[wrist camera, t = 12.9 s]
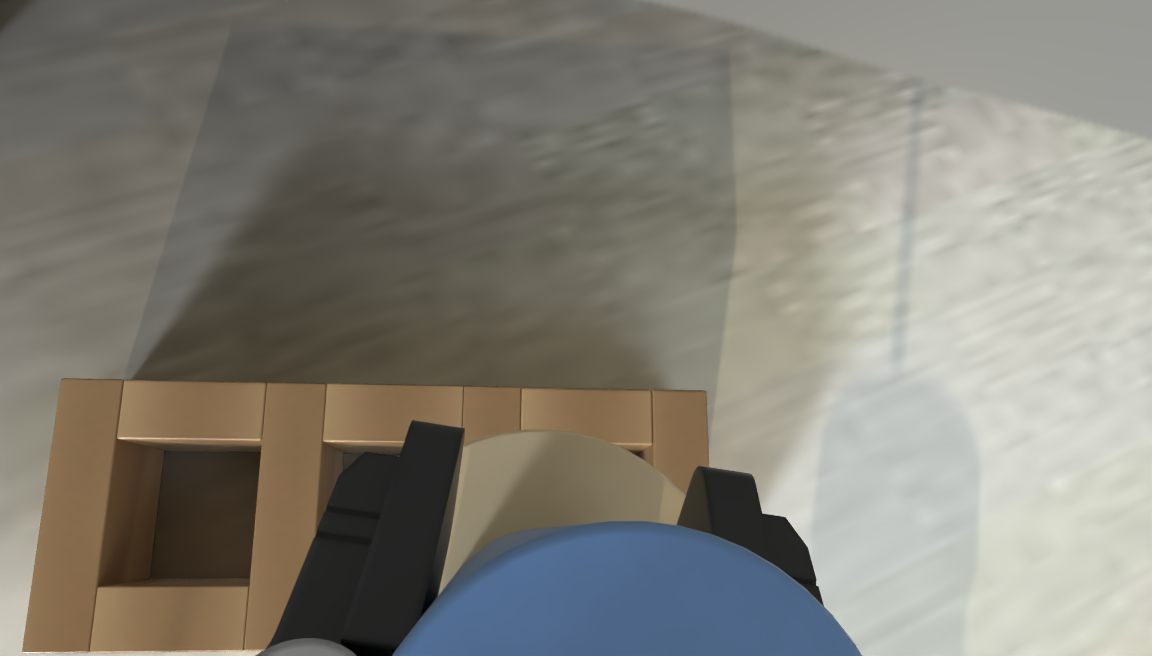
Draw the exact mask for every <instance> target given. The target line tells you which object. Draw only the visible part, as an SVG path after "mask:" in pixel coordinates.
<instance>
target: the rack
mask: <svg viewBox="0 0 1152 656" xmlns="http://www.w3.org/2000/svg"><path fill="white" fill-rule="evenodd" d="M412 420H415V421H422V422H428V423H435V424H441V425H447V426H454V427H460V428H465V437H464V444H465V443H468V442H470V441H473V440H475V439H478V438H482V437H486V436H490V435H494V434H497V433H501V432H509V431H517V430H525V429H554V430H561V431H568V432H576V433H580V434H584V435H588V436H591V437H595V438H599V439H602V440H605V441H607V442H609V443H612V444H614V445H616V446H619V447H621V448H624V449H626V450H628V451H629V452H631V453H633V454H634V455H636V456H638V457H640V458H641V459H643V460H645V461H646V462H648V463H649V464H651V465H652V466H653V467H654V468H656V469H657V470H658V471H660V472H661V473H662V474H664V475H665V476H666V477H667V478H669V479H670V480H671V481H672V482H673V483H674V484H675V485H676V486H677V487H678V488H679V489H680V490H681V491H682V492H683V493H684V494H685V495H686V494H687V490H688V487H689V484H690V481H691V478H692V475H693V473H694V471H695V469H696V468H697V467H698V466H704V467H709V448H708V418H707V393H706V391H703V390H652V391H651V390H647V389H594V388H540V387H523V388H522V389H521V388H520V387H497V386H464V387H463V386H445V385H392V384H338V383H328V384H325V383H282V382H269V383H265V382H225V381H172V380H125V381H124V380H122V379H69V378H63V379H61V384H60V391H59V398H58V405H57V412H56V419H55V426H54V433H53V440H52V447H51V454H50V461H49V468H48V475H47V482H46V489H45V496H44V503H43V509H42V516H41V523H40V530H39V537H38V544H37V551H36V558H35V565H34V572H33V579H32V586H31V593H30V600H29V607H28V614H27V621H26V628H25V635H24V642H23V649H22V653H24V654H37V653H89V652H90V653H129V652H218V651H243V650H244V651H264V650H265V649H266V647H267V646H268V645H269V643H270V642H271V640H272V638H273V636H274V634H275V632H276V630H277V627H278V625H279V622H280V620H281V617H282V615H283V612H284V610H285V607H286V605H287V602H288V600H289V598H290V595H291V593H292V590H293V588H294V585H295V583H296V580H297V578H298V575H299V573H300V570H301V568H302V566H303V563H304V561H305V558H306V556H307V553H308V551H309V548H310V546H311V543H312V541H313V538H314V537H315V536H316V532H317V529H318V526H319V524H320V521H321V519H322V516H323V514H324V512H326V508H327V504H328V501H329V499H330V496H331V494H332V492H333V489H334V487H335V484H336V482H337V479H338V477H339V475H340V474H341V473H342V468H343V453H365V452H371V453H392V454H400V453H401V450H402V447H403V444H404V441H405V438H406V435H407V432H408V429H409V426H410V423H411V421H412ZM164 451H215V452H261V458H260V469H259V481H258V492H257V504H256V515H255V527H254V538H253V550H252V561H251V573H250V579H150V572H151V563H152V554H153V545H154V536H155V528H156V519H157V510H158V501H159V492H160V483H161V475H162V466H163V457H164Z"/></svg>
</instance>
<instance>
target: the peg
mask: <svg viewBox="0 0 1152 656" xmlns="http://www.w3.org/2000/svg"><path fill="white" fill-rule="evenodd" d="M685 497H686V495H685V494H684V493H683V492H682V491H681V490H680V489H679V488H678V487H677V486H676V485H675V484H674V483H673V482H672V481H671V480H670V479H669V478H667V477H666V476H665V475H664V474H662V473H661V472H660V471H658V470H657V469H656V468H654V467H653V466H652V465H651V464H649V463H648V462H646V461H645V460H643V459H641V458H640V457H638V456H636V455H634V454H633V453H631V452H629V451H628V450H626V449H624V448H621V447H619V446H616V445H614V444H612V443H609V442H607V441H605V440H602V439H599V438H595V437H591V436H588V435H584V434H580V433H576V432H568V431H561V430H554V429H525V430H517V431H509V432H501V433H497V434H494V435H490V436H486V437H482V438H478V439H475V440H473V441H470V442H468V443H465V444H464V445H463V452H462V459H461V467H460V474H459V481H458V489H457V496H456V503H455V511H454V517H453V524H452V530H451V535H450V541H449V546H448V551H447V556H446V561H445V565H444V570H443V575H442V579H441V584H440V589H439V593H438V597H437V598H436V599H435V601H434V602H433V603H432V604H431V606H430V607H429V608H428V609H427V611H426V612H425V613H424V614H423V616H422V617H421V618H420V619H419V621H418V622H417V623H416V624H415V626H414V627H413V628H412V630H411V631H410V632H409V634H408V635H407V636H406V638H405V639H404V640H403V641H402V643H401V644H400V645H399V647H398V648H397V649H396V651H395V652H394V653H393V655H392V656H862V655H861V653H860V652H859V650H858V648H857V647H856V645H855V643H854V642H853V641H852V640H851V638H850V637H849V636H848V635H847V633H846V632H845V631H844V629H843V628H842V627H841V626H840V624H839V623H838V622H837V621H836V619H835V618H834V617H833V616H832V614H831V613H830V612H829V611H828V610H827V609H826V608H825V607H824V606H823V605H822V604H821V603H820V602H819V601H818V600H817V599H816V598H815V597H814V596H813V595H812V594H811V593H810V592H809V591H808V590H807V589H806V588H804V587H803V586H802V585H800V584H799V583H798V582H797V581H795V580H794V579H793V578H791V577H790V576H789V575H787V574H786V573H785V572H784V571H782V570H781V569H780V568H778V567H777V566H775V565H774V564H772V563H770V562H769V561H767V560H765V559H763V558H762V557H760V556H758V555H757V554H755V553H753V552H751V551H750V550H748V549H746V548H744V547H742V546H739V545H737V544H735V543H732V542H730V541H727V540H725V539H723V538H720V537H718V536H715V535H713V534H709V533H705V532H702V531H698V530H694V529H691V528H687V527H683V526H679V525H677V522H678V518H679V515H680V512H681V509H682V506H683V503H684V500H685Z"/></svg>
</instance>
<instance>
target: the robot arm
mask: <svg viewBox="0 0 1152 656" xmlns="http://www.w3.org/2000/svg"><path fill="white" fill-rule="evenodd" d="M464 437H465V428H460V427H454V426H447V425H441V424H435V423H428V422H422V421H415V420H412V421H411V423H410V426H409V429H408V432H407V435H406V438H405V441H404V444H403V447H402V450H401V453H400V457H397V456H390V455H384V454H378V453H371V452H365V453H363V454H362V455H361V456H360V457H359V458H358V459H357V460H356V461H354V462H353V463H352V464H351V465H350V466H349V467H348V468H347V469H346V470H344V471H343V472H342V473H341V474H340V475H339V477H338V479H337V482H336V484H335V487H334V489H333V492H332V494H331V496H330V499H329V501H328V504H327V508H326V512H324V514H323V516H322V519H321V521H320V524H319V526H318V529H317V532H316V536H315V537H314V538H313V541H312V543H311V546H310V548H309V551H308V553H307V556H306V558H305V561H304V563H303V566H302V568H301V570H300V573H299V575H298V578H297V580H296V583H295V585H294V588H293V590H292V593H291V595H290V598H289V600H288V602H287V605H286V607H285V610H284V612H283V615H282V617H281V620H280V622H279V625H278V627H277V630H276V632H275V634H274V636H273V638H272V640H271V642H270V643H269V645H268V646H267V647H266V649H265V650H264V651H262V652H260V653H259V654H258V655H256V656H392V655H393V653H394V652H395V651H396V649H397V648H398V647H399V645H400V644H401V643H402V641H403V640H404V639H405V638H406V636H407V635H408V634H409V632H410V631H411V630H412V628H413V627H414V626H415V624H416V623H417V622H418V621H419V619H420V618H421V617H422V616H423V614H424V613H425V612H426V611H427V609H428V608H429V607H430V606H431V604H432V603H433V602H434V601H435V599H436V598H437V597H438V593H439V589H440V584H441V579H442V575H443V570H444V565H445V561H446V556H447V551H448V546H449V541H450V535H451V530H452V524H453V517H454V511H455V503H456V496H457V489H458V481H459V474H460V467H461V459H462V452H463V445H464ZM677 525H679V526H683V527H687V528H691V529H694V530H698V531H702V532H705V533H709V534H713V535H715V536H718V537H720V538H723V539H725V540H727V541H730V542H732V543H735V544H737V545H739V546H742V547H744V548H746V549H748V550H750V551H751V552H753V553H755V554H757V555H758V556H760V557H762V558H763V559H765V560H767V561H769V562H770V563H772V564H774V565H775V566H777V567H778V568H780V569H781V570H782V571H784V572H785V573H786V574H787V575H789V576H790V577H791V578H793V579H794V580H795V581H797V582H798V583H799V584H800V585H802V586H803V587H804V588H806V589H807V590H808V591H809V592H810V593H811V594H812V595H813V596H814V597H815V598H816V599H817V600H818V601H819V602H820V603H821V604H822V605H823V602H822V598H821V594H820V591H819V587H818V586H816V576H815V572H814V569H813V565H812V562H811V558H810V554H809V551H808V547H807V546H806V545H805V543H804V542H803V541H802V539H801V538H800V537H799V535H798V534H797V532H796V531H795V530H794V528H793V527H792V526H791V524H790V523H789V522H788V520H787V519H786V518H785V517H781V516H774V515H768V514H762V511H761V506H760V502H759V497H758V493H757V488H756V484H755V480H754V478H753V476H752V475H751V474H748V473H742V472H736V471H729V470H723V469H717V468H710V467H704V466H698V467H697V468H696V469H695V471H694V473H693V475H692V478H691V481H690V484H689V487H688V490H687V494H686V497H685V500H684V503H683V506H682V509H681V512H680V515H679V518H678V522H677ZM823 606H824V605H823Z"/></svg>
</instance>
